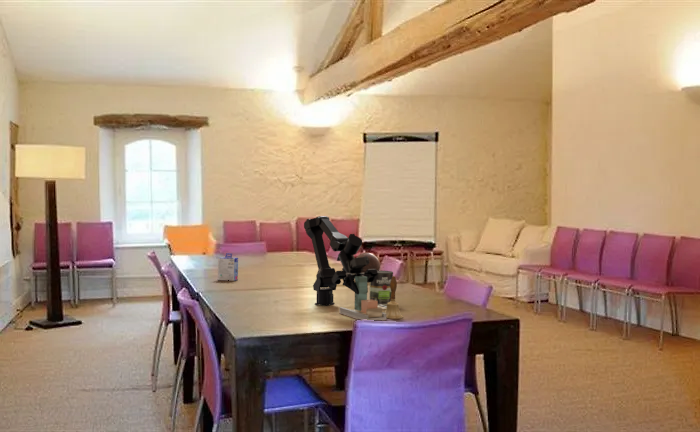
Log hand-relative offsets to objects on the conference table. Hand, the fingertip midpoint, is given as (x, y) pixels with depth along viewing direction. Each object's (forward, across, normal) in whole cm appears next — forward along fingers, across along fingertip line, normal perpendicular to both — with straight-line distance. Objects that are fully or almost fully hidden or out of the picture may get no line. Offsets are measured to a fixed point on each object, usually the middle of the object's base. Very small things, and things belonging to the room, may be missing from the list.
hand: (362, 293), depth 264 cm
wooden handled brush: (+11, +10, +3) cm, 15 cm away
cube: (+8, 0, +1) cm, 8 cm away
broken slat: (+3, +10, +10) cm, 14 cm away
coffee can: (-10, +23, +23) cm, 34 cm away
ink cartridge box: (-82, -9, +95) cm, 126 cm away
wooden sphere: (-62, +61, +75) cm, 115 cm away
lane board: (+6, +5, +7) cm, 10 cm away
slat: (+8, 0, +3) cm, 8 cm away
